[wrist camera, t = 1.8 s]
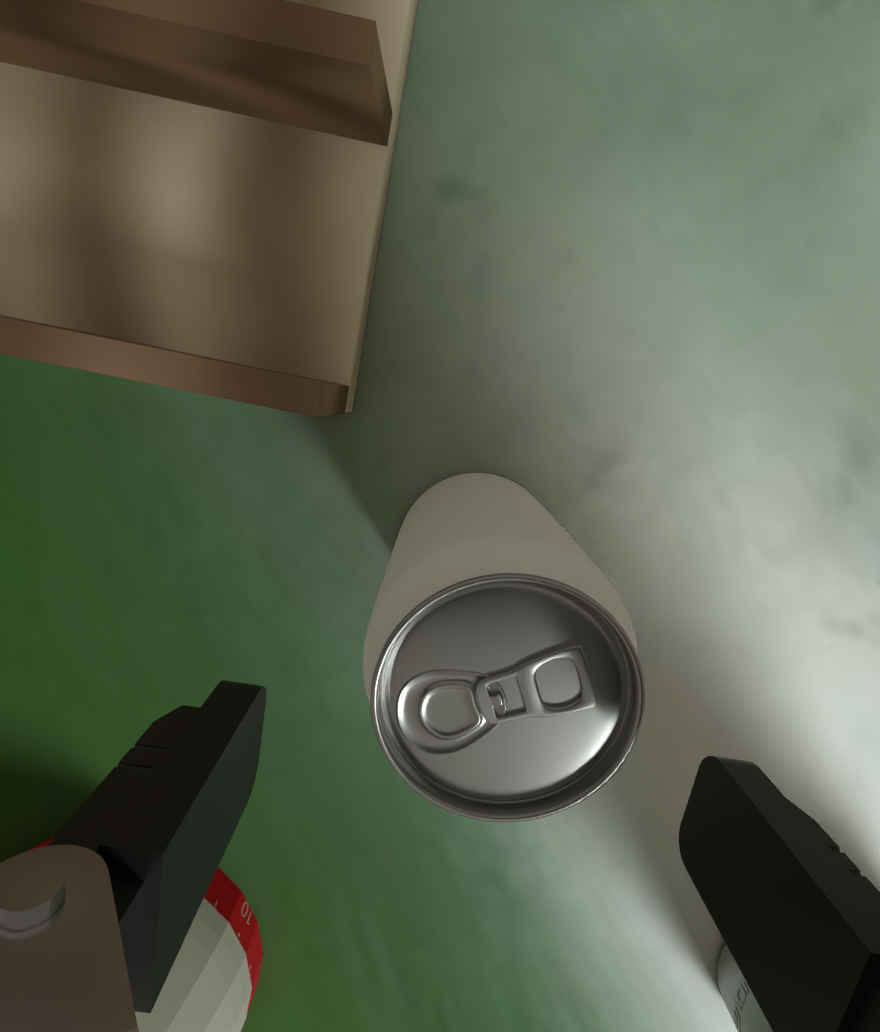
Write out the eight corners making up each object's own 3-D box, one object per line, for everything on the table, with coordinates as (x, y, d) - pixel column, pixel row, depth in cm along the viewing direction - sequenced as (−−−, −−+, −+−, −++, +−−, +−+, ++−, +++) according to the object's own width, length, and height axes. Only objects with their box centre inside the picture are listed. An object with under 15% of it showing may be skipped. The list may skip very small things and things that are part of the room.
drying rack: (445, -172, 17) (446, -461, 12) (351, 412, 21) (316, 416, 16) (-116, -307, 17) (-416, -684, 11) (-105, 319, 21) (-319, 289, 15)
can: (378, 496, 22) (303, 606, 10) (529, 450, 22) (628, 512, 10) (424, 635, 24) (404, 871, 12) (568, 595, 23) (695, 798, 11)
